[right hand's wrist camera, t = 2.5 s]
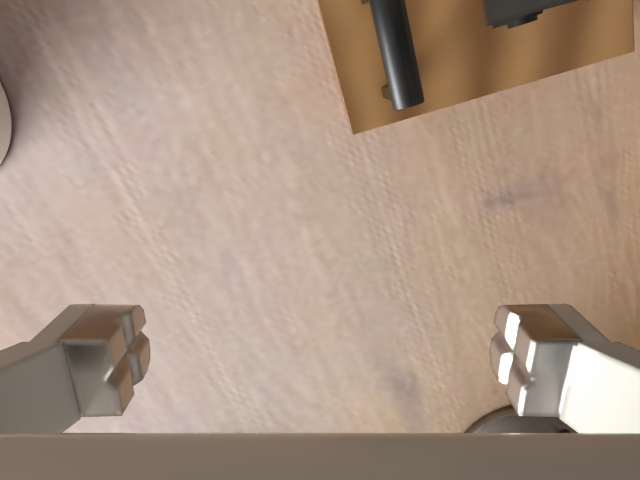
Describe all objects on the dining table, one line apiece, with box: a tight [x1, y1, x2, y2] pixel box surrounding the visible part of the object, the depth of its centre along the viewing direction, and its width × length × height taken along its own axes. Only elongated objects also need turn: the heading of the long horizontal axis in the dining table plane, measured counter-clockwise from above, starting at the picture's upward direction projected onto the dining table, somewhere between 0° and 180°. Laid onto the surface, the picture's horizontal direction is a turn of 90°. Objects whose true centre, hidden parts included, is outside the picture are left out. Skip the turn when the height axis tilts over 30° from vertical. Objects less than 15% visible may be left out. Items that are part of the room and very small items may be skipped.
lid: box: [316, 0, 634, 135], centre depth 24 cm, size 18×10×8 cm, turn 106°
